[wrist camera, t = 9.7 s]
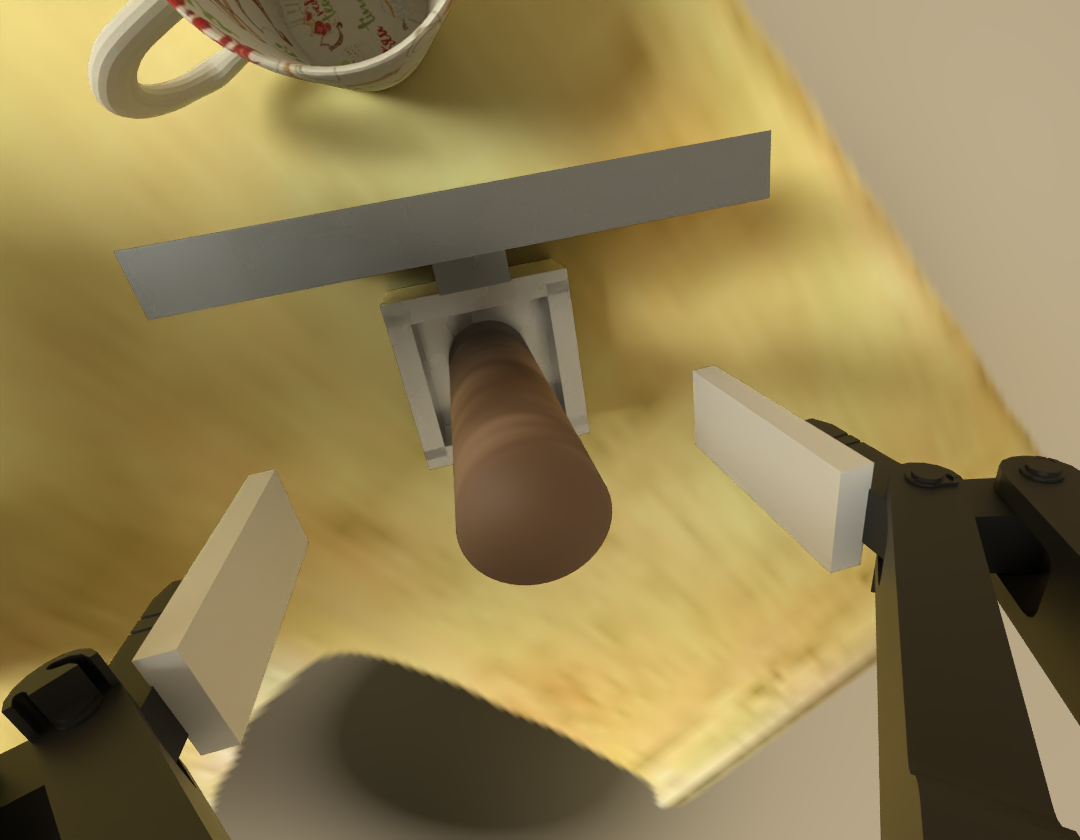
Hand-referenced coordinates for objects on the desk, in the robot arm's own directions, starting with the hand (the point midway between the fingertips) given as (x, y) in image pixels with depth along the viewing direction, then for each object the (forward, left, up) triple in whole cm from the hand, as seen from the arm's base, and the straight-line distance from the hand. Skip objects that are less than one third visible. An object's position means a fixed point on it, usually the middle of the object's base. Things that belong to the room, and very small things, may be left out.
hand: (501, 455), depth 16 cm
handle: (0, 0, -10) cm, 10 cm away
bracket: (0, +2, -11) cm, 12 cm away
